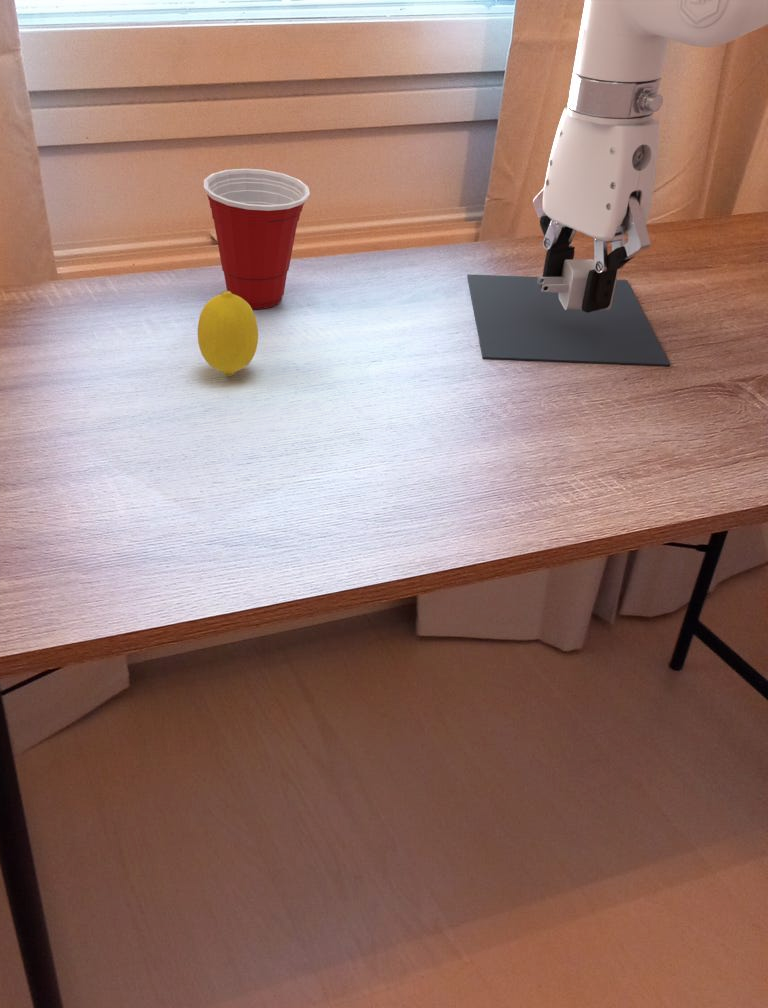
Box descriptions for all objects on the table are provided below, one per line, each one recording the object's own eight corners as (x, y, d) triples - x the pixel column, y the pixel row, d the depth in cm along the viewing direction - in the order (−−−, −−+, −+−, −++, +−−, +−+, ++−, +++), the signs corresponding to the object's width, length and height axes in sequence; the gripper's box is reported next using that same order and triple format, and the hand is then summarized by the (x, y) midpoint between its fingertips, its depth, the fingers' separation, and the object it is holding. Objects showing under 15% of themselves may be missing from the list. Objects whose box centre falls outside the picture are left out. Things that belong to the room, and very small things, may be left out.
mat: (670, 366, 98) (670, 364, 98) (482, 358, 99) (483, 356, 99) (626, 281, 115) (627, 280, 115) (467, 276, 116) (467, 274, 116)
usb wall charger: (609, 312, 101) (618, 272, 98) (540, 312, 101) (547, 271, 98) (600, 296, 104) (608, 257, 101) (532, 296, 104) (538, 257, 101)
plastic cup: (274, 328, 104) (275, 206, 97) (187, 306, 108) (181, 187, 101) (325, 293, 112) (329, 177, 104) (241, 274, 116) (239, 161, 108)
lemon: (270, 376, 96) (270, 292, 91) (226, 394, 93) (223, 308, 88) (231, 357, 99) (229, 275, 94) (187, 374, 96) (182, 290, 91)
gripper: (717, 113, 86) (664, 321, 97) (578, 74, 97) (546, 265, 109) (652, 123, 83) (606, 337, 95) (517, 82, 94) (490, 278, 106)
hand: (574, 297), depth 102 cm, fingers closed on usb wall charger, 5 cm apart
